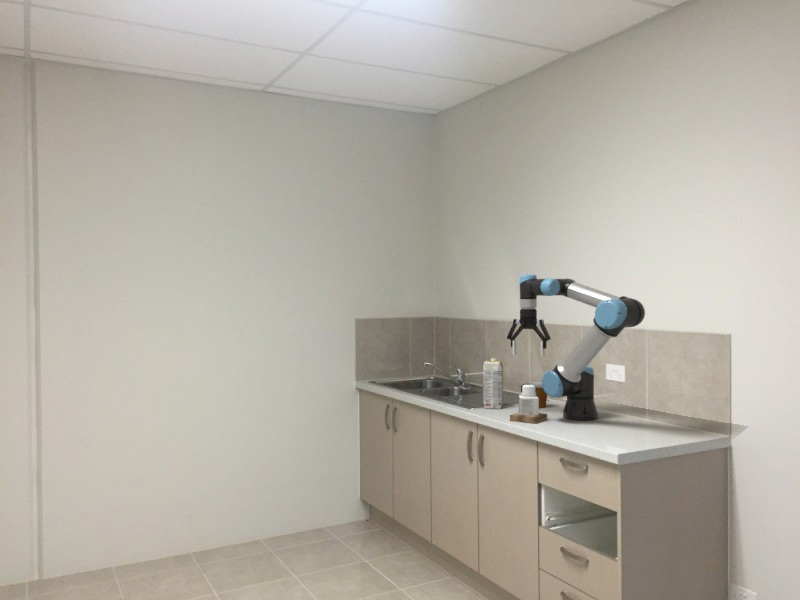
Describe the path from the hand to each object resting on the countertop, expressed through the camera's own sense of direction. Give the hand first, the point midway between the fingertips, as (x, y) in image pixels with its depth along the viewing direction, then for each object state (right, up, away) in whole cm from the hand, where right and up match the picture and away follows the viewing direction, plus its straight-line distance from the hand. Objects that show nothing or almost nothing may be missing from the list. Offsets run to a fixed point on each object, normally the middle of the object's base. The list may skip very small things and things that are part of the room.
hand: (528, 355), depth 318 cm
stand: (-2, -27, -12) cm, 30 cm away
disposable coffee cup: (+9, -27, +22) cm, 36 cm away
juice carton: (-13, -27, +20) cm, 36 cm away
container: (-2, -25, -12) cm, 28 cm away
